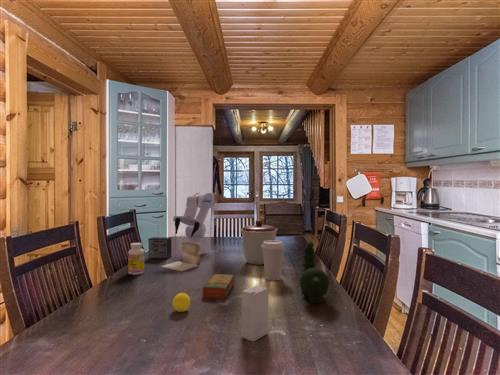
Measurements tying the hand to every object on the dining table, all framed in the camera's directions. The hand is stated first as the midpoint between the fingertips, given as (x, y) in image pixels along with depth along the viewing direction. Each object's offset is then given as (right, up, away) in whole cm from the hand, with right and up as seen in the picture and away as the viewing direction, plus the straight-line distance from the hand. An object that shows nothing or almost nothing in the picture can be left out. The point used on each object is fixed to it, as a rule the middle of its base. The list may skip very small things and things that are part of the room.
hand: (183, 234), depth 163 cm
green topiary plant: (+54, -15, -47) cm, 73 cm away
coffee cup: (+42, -15, -26) cm, 51 cm away
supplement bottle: (-17, -15, -18) cm, 29 cm away
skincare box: (+34, -16, -77) cm, 86 cm away
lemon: (+11, -15, -60) cm, 63 cm away
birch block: (+4, -14, 0) cm, 15 cm away
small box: (-15, -14, +12) cm, 24 cm away
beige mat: (-1, -14, -7) cm, 16 cm away
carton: (+21, -15, -42) cm, 49 cm away
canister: (+37, -14, +1) cm, 39 cm away
